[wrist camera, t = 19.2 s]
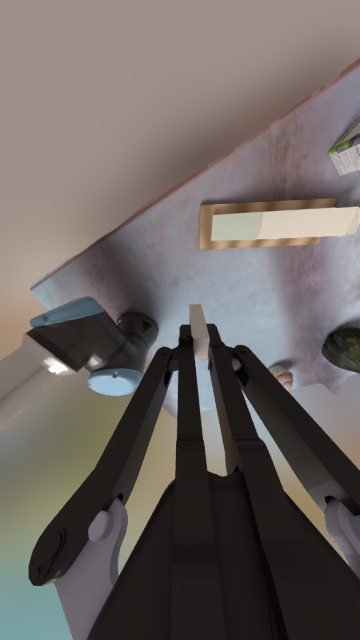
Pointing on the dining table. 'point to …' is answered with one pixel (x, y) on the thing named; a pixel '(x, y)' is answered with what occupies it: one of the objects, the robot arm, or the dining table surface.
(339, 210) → the domino
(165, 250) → the dining table surface
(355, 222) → the domino
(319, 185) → the dining table surface
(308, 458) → the robot arm
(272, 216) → the domino
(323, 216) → the domino
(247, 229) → the domino
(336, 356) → the squash
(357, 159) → the syrup box
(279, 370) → the cupcake
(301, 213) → the domino
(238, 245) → the board
